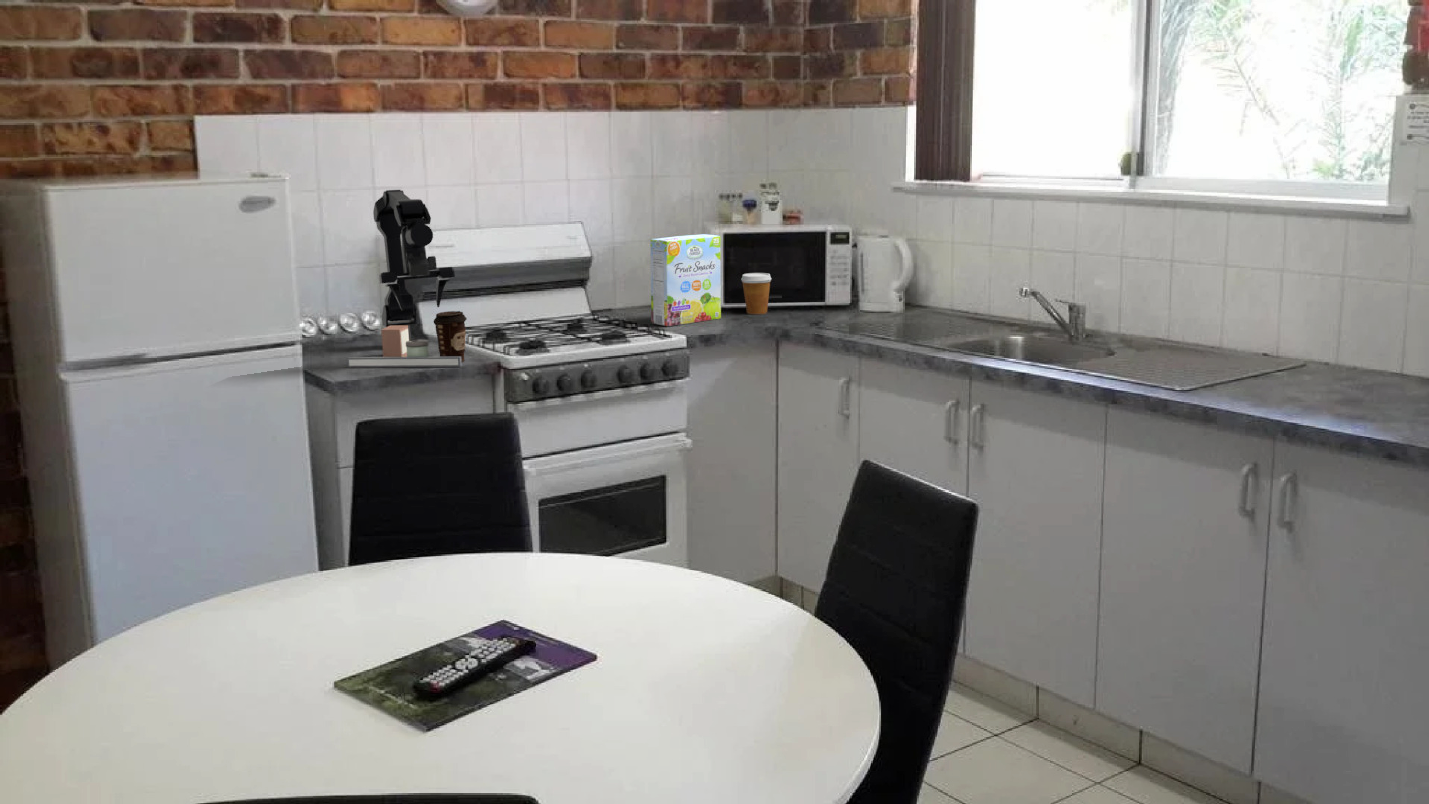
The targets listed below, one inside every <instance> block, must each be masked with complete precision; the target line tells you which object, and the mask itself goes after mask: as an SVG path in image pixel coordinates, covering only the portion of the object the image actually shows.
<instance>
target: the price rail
mask: <svg viewBox="0 0 1429 804" xmlns="http://www.w3.org/2000/svg"><path fill="white" fill-rule="evenodd" d="M346 362H347V368H461V367H463V362H462V360H461V356H442V357H440V356H429V357H407V356H406V357H383V356H348V357H347V358H346Z"/></svg>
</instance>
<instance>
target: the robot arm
mask: <svg viewBox="0 0 1429 804" xmlns="http://www.w3.org/2000/svg"><path fill="white" fill-rule="evenodd" d="M382 194H383V195H382V196H381V197H380V198H378V200H376V201H375V203H374V206H373V213H372V215H373V220H374V222H375V223H376V229H377V230H378V231H379V232H380V234H381V235H382V236H383V240H384V251H385V259H386V262H385V263H386V270H387V271H382V272H380V273H379V277H378V278H379V284H381V285H383V284H385V288H386V287H388V292H387V293H386V295H385V297H384V305H383V306H382V307H383V309H382V313H381V322H382V323H381V324H382V325H383V326H384V328H386V327H388V326H390V325H408V333H409V341H410V340H412V338H411V325H416V324H417V323H418V322H417V314H418V308H417V307H416V303H415V302H414V299H413V295H412V294H411V293H410V292H409V290H408V289H407V287H406V280H418V279H419V280H420V279H432V278H437V280H435V290H436V291H435V293H436V294H435V295H436V298H435V301H436V308H440V304H441V300H442V295H443V291H444V288H445V287H446V283H447V282H451V279H453V278H455V276H456V274H455V269H454V268H453V267H452V266H448V267H446V266H445V267H437V258H436V255H431V256H427V250H426V247H427V246H429V245H430V244H431V242H432V240H433V239H434V232H433V231H432V228H431V227H430V226H428V225H431V220H432V217H431V215H430V213H429V210H428V207H426V204H425V203H424V202H423V200H422V199H420V198H418V199H415V198H414V199H412V198H410V197H409V196H407V195H406V194H405V191H404V190H402V189H389V190H387V189H386V190H384V191H383V193H382Z"/></svg>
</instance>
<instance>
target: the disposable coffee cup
mask: <svg viewBox="0 0 1429 804" xmlns="http://www.w3.org/2000/svg"><path fill="white" fill-rule="evenodd" d="M740 280H741V282H742V287H743V294H744V300H745V307H746V308H745V309H746V314H749V315H764V314H767V313H768V307H769V297H770V296H769V295H770V288H771V281H772V277H771V274H770V273H766V272H749V273H744V274H742V277H741V279H740Z"/></svg>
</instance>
